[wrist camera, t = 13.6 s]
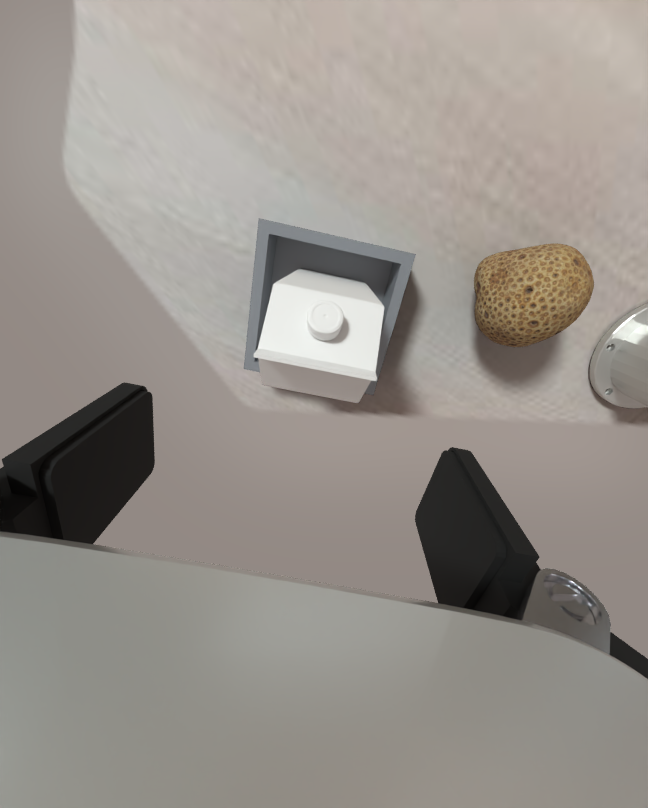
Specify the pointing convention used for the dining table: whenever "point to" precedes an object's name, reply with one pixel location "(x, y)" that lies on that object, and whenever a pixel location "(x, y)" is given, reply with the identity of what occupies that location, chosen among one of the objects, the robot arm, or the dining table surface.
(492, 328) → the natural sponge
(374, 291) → the box
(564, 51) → the dining table surface
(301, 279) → the milk carton
